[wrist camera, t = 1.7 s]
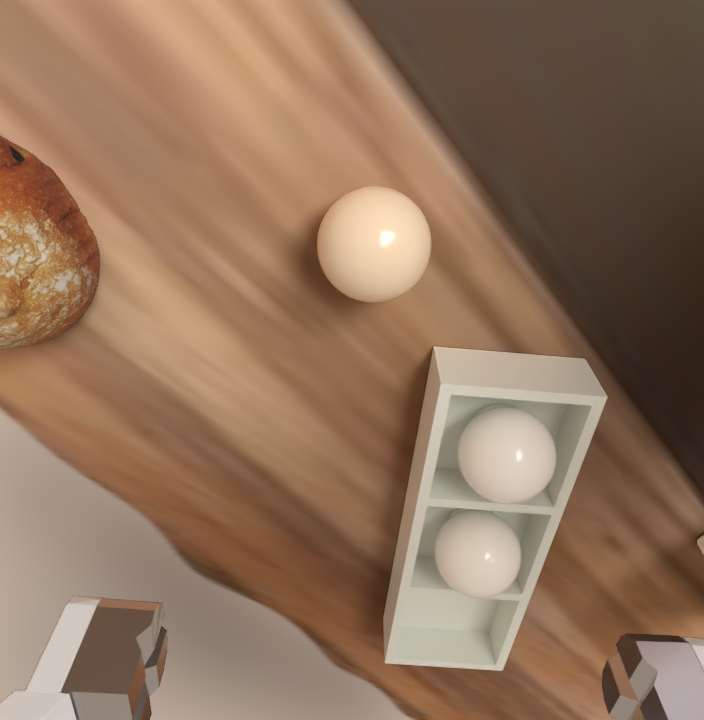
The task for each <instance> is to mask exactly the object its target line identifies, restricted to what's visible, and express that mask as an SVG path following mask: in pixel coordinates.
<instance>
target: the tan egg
mask: <svg viewBox="0 0 704 720" xmlns="http://www.w3.org/2000/svg"><path fill="white" fill-rule="evenodd" d="M317 253H318V258H319V262H320V265H321V267H322V270H323V272H324V274H325V275H326V277H327V279H328V280H329V281H330V282H331V283H332V285H333V286H334V287H335V288H337V289H338V290H339V291H340V292H342V293H343V294H345V295H346V296H348V297H350V298H353V299H355V300H359V301H363V302H372V303H377V302H384V301H389V300H392V299H395V298H397V297H399V296H401V295H403V294H405V293H406V292H408V291H409V290H410V289H411V288H412V287H413V286H414V285H415V284H416V283H417V282H418V281H419V279H420V278H421V277H422V275H423V273H424V272H425V270H426V267H427V265H428V262H429V258H430V254H431V235H430V229H429V226H428V223H427V221H426V219H425V217H424V215H423V213H422V212H421V210H420V209H419V207H418V206H417V205H416V204H415V203H414V202H413V201H412V200H410V199H409V198H408V197H407V196H405V195H404V194H402V193H400V192H398V191H396V190H393V189H390V188H386V187H380V186H370V187H363V188H359V189H356V190H353V191H351V192H349V193H347V194H345V195H344V196H342V197H341V198H340V199H338V200H337V201H336V202H335V203H334V204H333V205H332V206H331V207H330V209H329V210H328V211H327V213H326V214H325V216H324V218H323V220H322V222H321V225H320V228H319V232H318V237H317Z"/></svg>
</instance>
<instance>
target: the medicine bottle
mask: <svg viewBox="0 0 704 720" xmlns="http://www.w3.org/2000/svg"><path fill="white" fill-rule="evenodd" d="M697 545H698V546H699V548H700V550H701V551H702V553H703V555H704V535H703V536H701V537H700V538H699V539H698V540H697Z"/></svg>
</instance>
